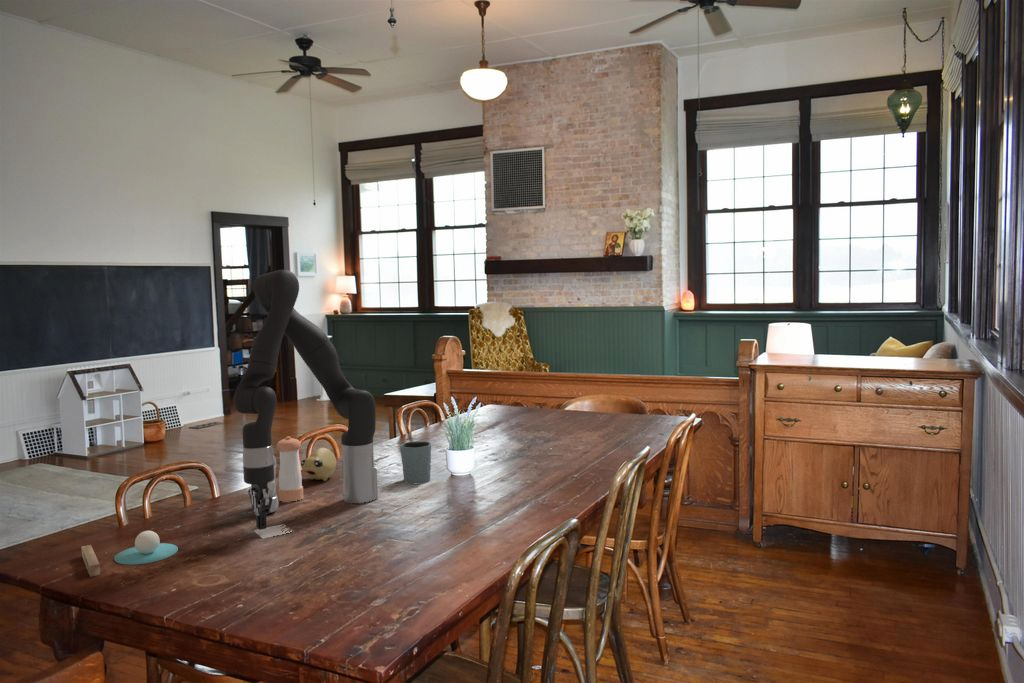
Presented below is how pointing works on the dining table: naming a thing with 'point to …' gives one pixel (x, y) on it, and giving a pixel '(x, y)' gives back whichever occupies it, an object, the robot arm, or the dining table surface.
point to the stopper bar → (90, 560)
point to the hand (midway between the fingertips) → (261, 528)
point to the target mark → (145, 555)
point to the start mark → (271, 531)
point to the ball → (147, 542)
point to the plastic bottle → (273, 491)
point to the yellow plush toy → (319, 464)
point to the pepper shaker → (289, 470)
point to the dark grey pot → (416, 461)
